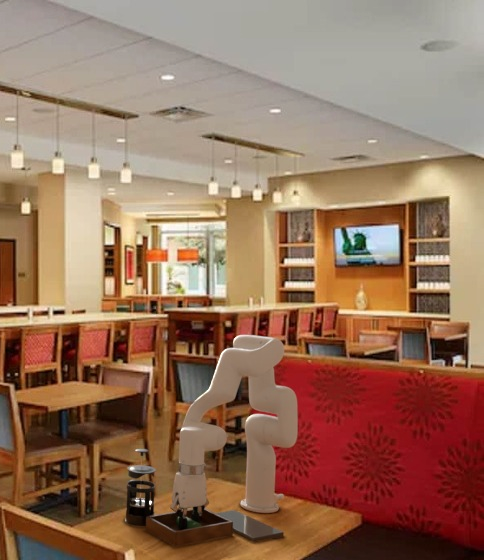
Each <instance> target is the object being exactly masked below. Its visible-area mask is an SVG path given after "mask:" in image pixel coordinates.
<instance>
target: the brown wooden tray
mask: <svg viewBox="0 0 484 560" xmlns="http://www.w3.org/2000/svg"><path fill="white" fill-rule="evenodd" d="M182 512H183V510H182ZM192 513H193V508H188V509H187V514H186V517H188V518H190V519H191V517H192ZM215 513H216V512H213V511H212V510H209V509H207V508H205V509H204V510H203V512H202V515H201V516H200V524H201V526H202V527H196V528H191V529H185V530H181V529H179V527H178V526H177V524H176V520H177V518H178V517H179V516H178V515H177V513H176V512H175V511H170V512H166V513H165V512H164V513H159V514H154V515H153V516H147V517H146V526H145V530H146V531H147V532H148V533H150V534H153V535H154V536H156V537H158V538H160V539H161V540H163V542H164V541H165V542H166V543H168V544H170V545H171V546H173V547H180V546H185V545H189V544H194V543H201V542H204V541H205V542H206V541H211V540H215V539H216V540H217V539H221V538H225V537H230V536H233V535H234V534H233V533H234V532H233V522H232V521H230V520H228V519H226V518H224V517H222V516H220V515H217V514H215Z"/></svg>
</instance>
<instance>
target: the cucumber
mask: <svg viewBox="0 0 484 560" xmlns="http://www.w3.org/2000/svg"><path fill="white" fill-rule="evenodd" d="M186 518H187V529H191V528H196V527H202V526H201V524H200V523H198V522H196V521H194V520H192V519H190V518H188V517H186ZM176 524H177V526H178V527H179V517H178V518H177V520H176Z"/></svg>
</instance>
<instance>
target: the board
mask: <svg viewBox="0 0 484 560" xmlns="http://www.w3.org/2000/svg"><path fill="white" fill-rule="evenodd" d="M214 513H215V514H217V515H220V516H222V517H224V518H226V519H228V520H230V521H232V522H233V533H235V534H237V535H238V536H239V535H240V536H242V537H244V538H245V539H247V540H250V541H251V542H254V543H255V542H259V541H263V540H269V539H272V540H275V539H281V538H284V536H285V535H284V531H282V530H280V529H278V528H275V527H274V526H272V525H269V524H266V523H264V522H262V521H260V520H258V519H255V518H253V517H251V516H249V515H247V514H244V513H242V512H240V511H238V510H236V509H232V510H227V511H221V512H214Z"/></svg>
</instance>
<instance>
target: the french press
mask: <svg viewBox="0 0 484 560" xmlns="http://www.w3.org/2000/svg"><path fill="white" fill-rule="evenodd" d="M149 452H150V450H148V449H147V448H137V449H135V453H139V454H140V457H141V458H140V464H137V465H136V464H135V465H129V466H127V468H126V470H127V471H128V477H129V478H131V479H129V480H128V481H127V483H126V510H125V519H124V521H125V523H127V524H128V525H130V526H136V527H146V517H147V516H153V515H155V491H156V484H155V482H152V481H149V480H142V479H143V476H145V475H151V476H152V477H153V478H155V473H156V472H157V469H156V468H155V467H152V466H149V465H143V457H144V455H145V453H149ZM139 478H140V480H139ZM136 479H137V480H136ZM138 485H139V487H138ZM143 486H148V487H149V488H148V487H147V488H142V487H143ZM137 493H138V494H139V497H137ZM142 494H144V497H142Z"/></svg>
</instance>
